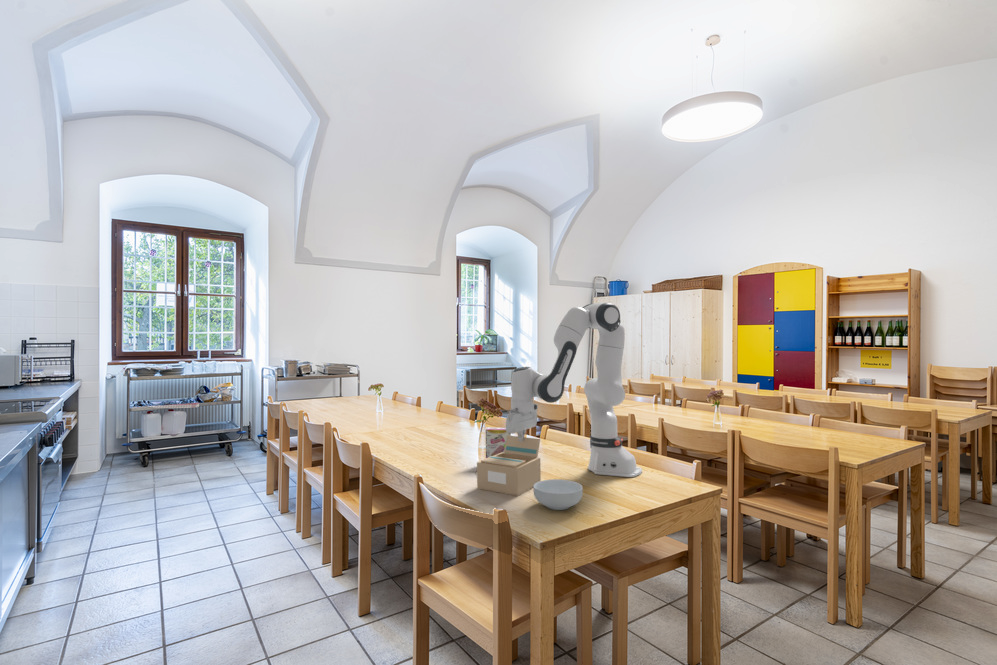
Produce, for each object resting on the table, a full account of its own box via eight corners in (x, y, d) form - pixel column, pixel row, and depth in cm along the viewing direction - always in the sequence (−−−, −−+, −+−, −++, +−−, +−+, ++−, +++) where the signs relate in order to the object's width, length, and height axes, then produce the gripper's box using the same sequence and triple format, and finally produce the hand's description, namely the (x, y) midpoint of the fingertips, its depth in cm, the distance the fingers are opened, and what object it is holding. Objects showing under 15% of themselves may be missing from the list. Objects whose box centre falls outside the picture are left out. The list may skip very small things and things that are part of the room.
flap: (481, 461, 192) (481, 460, 192) (492, 457, 199) (492, 455, 199) (515, 467, 184) (515, 465, 184) (525, 462, 191) (525, 460, 191)
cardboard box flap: (536, 457, 198) (537, 457, 199) (539, 439, 201) (540, 439, 201) (503, 452, 206) (504, 452, 207) (507, 435, 209) (507, 435, 209)
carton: (540, 483, 198) (540, 457, 198) (517, 496, 183) (517, 468, 183) (501, 476, 208) (501, 452, 208) (477, 488, 192) (476, 462, 192)
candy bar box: (485, 465, 224) (485, 429, 224) (486, 462, 229) (486, 427, 229) (510, 466, 223) (510, 429, 223) (511, 463, 228) (510, 427, 228)
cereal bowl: (592, 505, 173) (592, 484, 173) (564, 519, 160) (564, 497, 160) (552, 494, 184) (551, 475, 184) (523, 507, 172) (523, 486, 171)
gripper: (515, 410, 193) (515, 446, 193) (539, 404, 211) (539, 437, 211) (501, 409, 197) (501, 444, 196) (526, 403, 214) (526, 436, 214)
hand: (521, 441), depth 204 cm, fingers closed
